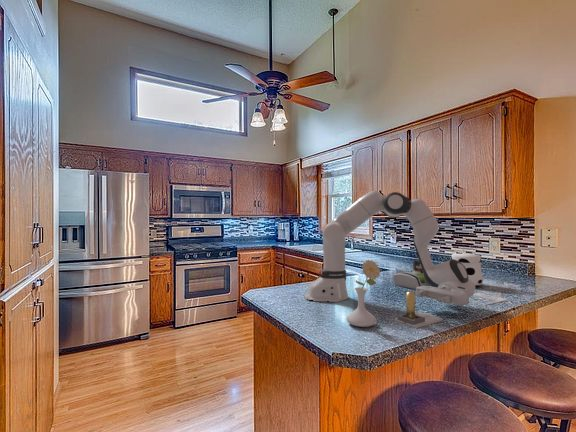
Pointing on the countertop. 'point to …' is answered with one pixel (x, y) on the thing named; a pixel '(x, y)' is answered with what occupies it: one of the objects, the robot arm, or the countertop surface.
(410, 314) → the hinge pin
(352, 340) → the countertop surface
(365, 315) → the flower in vase
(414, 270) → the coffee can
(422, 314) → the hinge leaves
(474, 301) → the photo frame
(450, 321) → the countertop surface
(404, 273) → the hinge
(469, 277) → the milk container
